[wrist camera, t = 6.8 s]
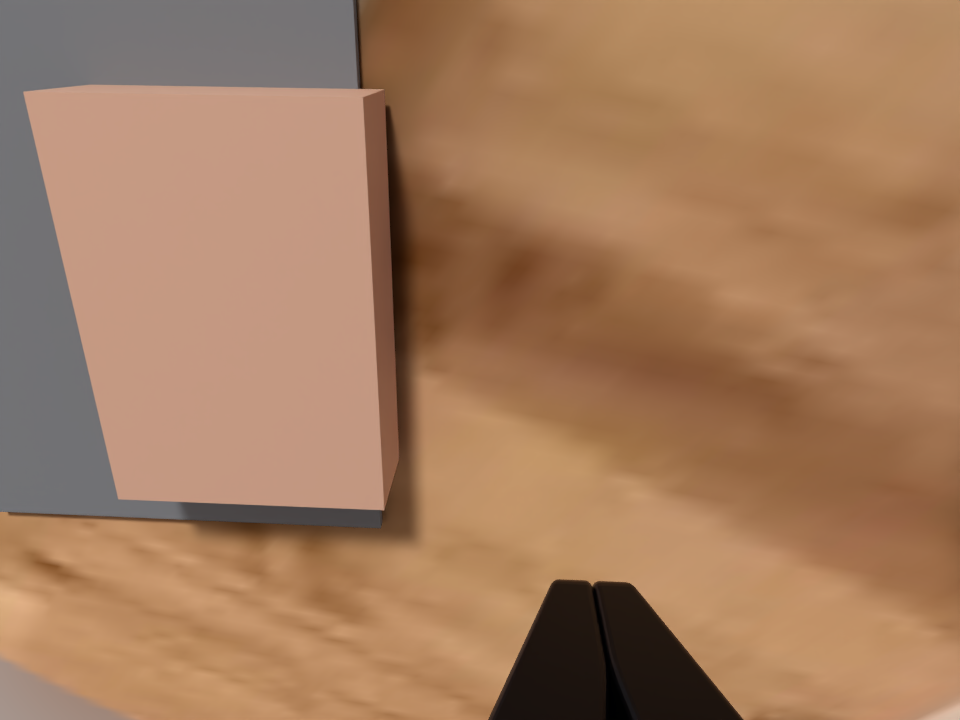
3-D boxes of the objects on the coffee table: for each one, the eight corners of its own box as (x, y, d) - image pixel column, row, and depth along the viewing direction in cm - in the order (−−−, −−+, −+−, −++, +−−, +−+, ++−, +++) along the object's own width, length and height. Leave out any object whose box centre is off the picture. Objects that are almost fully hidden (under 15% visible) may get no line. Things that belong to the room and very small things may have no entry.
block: (362, 97, 14) (22, 91, 15) (384, 510, 18) (118, 499, 19) (384, 89, 17) (90, 84, 17) (399, 458, 21) (162, 449, 21)
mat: (354, -32, 16) (351, -33, 16) (382, 521, 22) (380, 528, 22) (-166, -38, 16) (-178, -40, 16) (3, 505, 23) (-3, 511, 22)
